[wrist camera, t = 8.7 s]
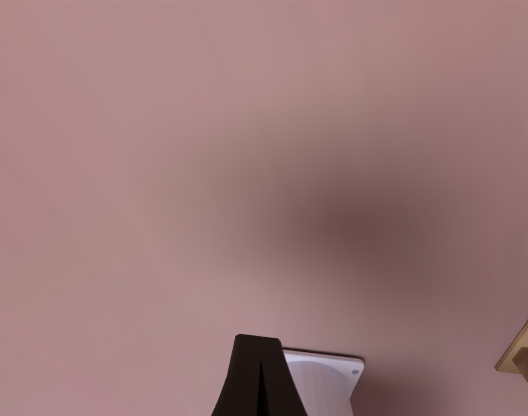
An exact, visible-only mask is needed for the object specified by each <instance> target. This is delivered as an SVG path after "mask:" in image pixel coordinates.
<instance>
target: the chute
mask: <svg viewBox="0 0 528 416" xmlns="http://www.w3.org/2000/svg"><path fill="white" fill-rule="evenodd" d="M495 369H496V370H497V371H500V372H509V373H517V374H522V375H523V376H524V378H525V379H526V381H527V382H528V322H527V323H526V325H525V326H524V328H523V329H522V330H521V332H520V333H519V335H518V336H517V337H516V339H515V340H514V341H513V343H512V344H511V346H510V347H509V348H508V350H507V351H506V353H505V354H504V355H503V357H502V358H501V360H500V361H499V362H498V364H497V365H496V367H495Z"/></svg>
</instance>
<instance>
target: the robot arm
mask: <svg viewBox="0 0 528 416" xmlns="http://www.w3.org/2000/svg"><path fill="white" fill-rule="evenodd" d="M363 369H364V363H363V361H362V360H361V359H357V358H348V357H340V356H332V355H323V354H315V353H307V352H298V351H290V350H283V349H282V345H281V342H280V340H279V339H278V338H269V337H261V336H253V335H245V334H238V335H236V336H235V341H234V345H233V350H232V355H231V359H230V364H229V369H228V373H227V377H226V380H225V383H224V386H223V388H222V391H221V394H220V396H219V399H218V401H217V404H216V406H215V408H214V411H213V413H212V415H211V416H353V412H352V407H351V403H350V397H351V394H352V392H353V390H354V388H355V386H356V384H357V382H358V380H359V377H360V375H361V373H362V371H363Z"/></svg>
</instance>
